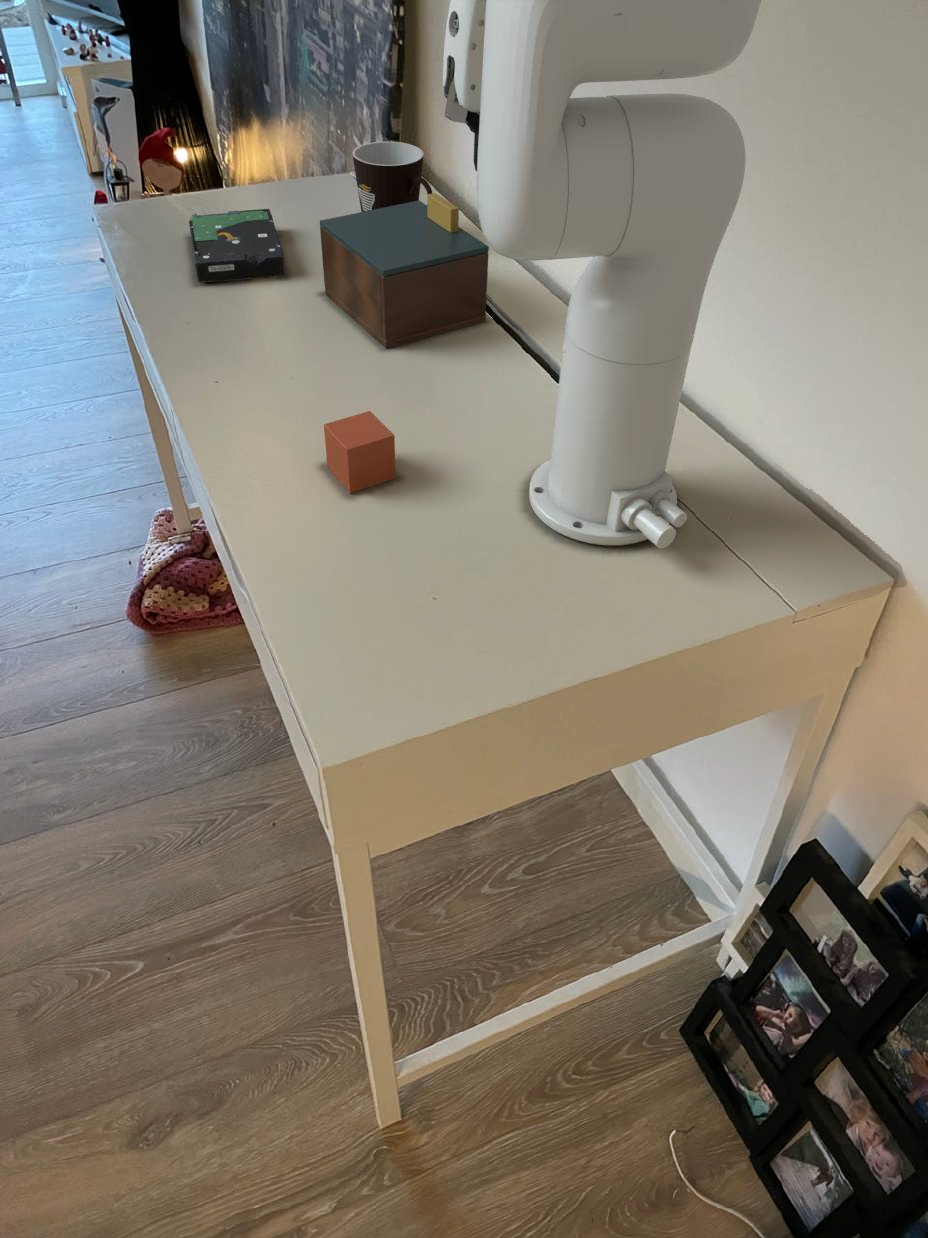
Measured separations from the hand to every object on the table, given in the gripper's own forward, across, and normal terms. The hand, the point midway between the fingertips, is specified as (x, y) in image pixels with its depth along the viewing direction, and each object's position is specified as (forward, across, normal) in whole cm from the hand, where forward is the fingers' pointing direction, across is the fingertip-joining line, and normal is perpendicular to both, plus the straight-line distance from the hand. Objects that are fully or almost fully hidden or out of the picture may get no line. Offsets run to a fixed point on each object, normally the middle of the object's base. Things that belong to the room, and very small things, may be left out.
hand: (488, 173), depth 102 cm
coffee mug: (+13, -3, +17) cm, 21 cm away
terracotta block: (+13, -30, -26) cm, 42 cm away
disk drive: (+13, -22, +22) cm, 33 cm away
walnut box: (+13, -11, 0) cm, 17 cm away
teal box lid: (+5, -11, 0) cm, 12 cm away
